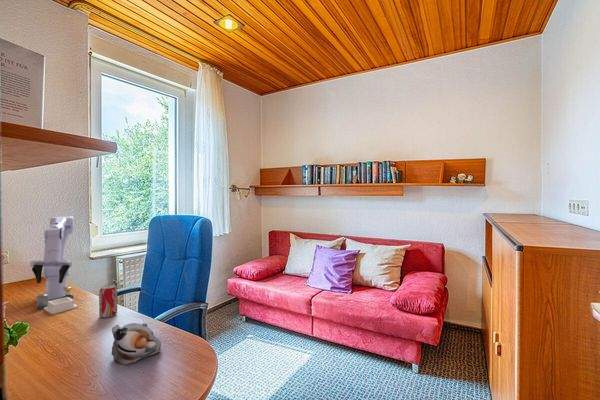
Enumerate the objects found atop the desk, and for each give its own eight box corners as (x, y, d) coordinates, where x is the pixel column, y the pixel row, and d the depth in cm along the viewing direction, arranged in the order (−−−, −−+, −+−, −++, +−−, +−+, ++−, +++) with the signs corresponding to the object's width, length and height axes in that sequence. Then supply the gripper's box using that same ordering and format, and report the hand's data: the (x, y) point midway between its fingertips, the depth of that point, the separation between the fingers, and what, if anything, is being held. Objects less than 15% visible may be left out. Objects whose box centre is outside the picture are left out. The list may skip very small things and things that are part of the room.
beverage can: (111, 318, 121) (110, 289, 121) (95, 318, 121) (95, 288, 121) (120, 312, 127) (120, 284, 127) (105, 312, 127) (105, 284, 127)
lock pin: (61, 296, 138) (61, 287, 138) (70, 294, 141) (70, 285, 141) (64, 298, 136) (64, 289, 136) (73, 296, 139) (73, 287, 139)
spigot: (35, 307, 132) (35, 295, 132) (46, 305, 135) (46, 292, 135) (38, 309, 130) (38, 297, 130) (50, 307, 133) (50, 294, 133)
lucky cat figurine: (170, 345, 100) (171, 316, 94) (145, 379, 89) (145, 349, 83) (129, 330, 101) (127, 300, 95) (100, 362, 91) (96, 331, 84)
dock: (41, 308, 132) (41, 300, 132) (70, 300, 141) (70, 293, 141) (51, 314, 125) (51, 306, 125) (81, 306, 134) (81, 298, 134)
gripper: (35, 248, 129) (32, 279, 123) (75, 250, 140) (73, 279, 135) (29, 254, 132) (25, 285, 127) (68, 256, 144) (67, 284, 138)
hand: (50, 282), depth 131 cm, fingers open, 7 cm apart
